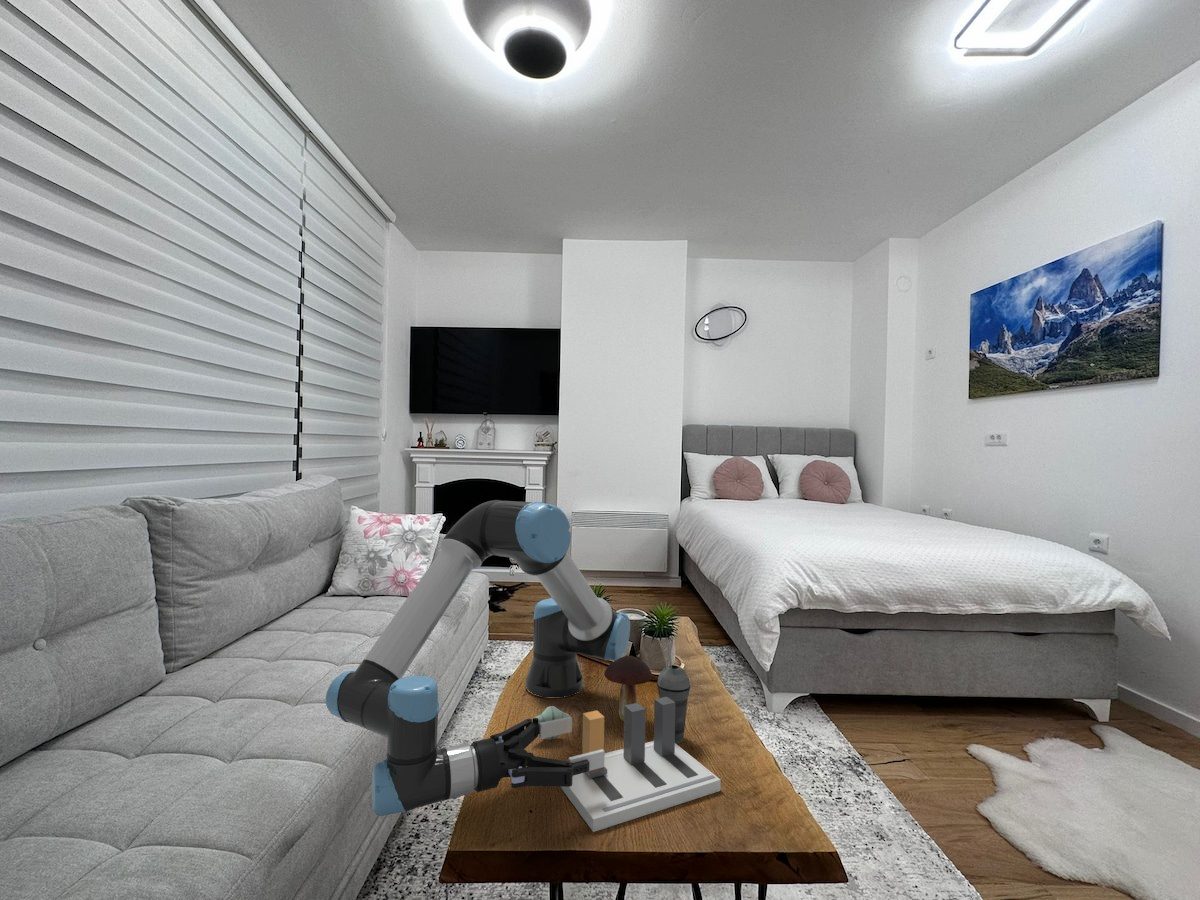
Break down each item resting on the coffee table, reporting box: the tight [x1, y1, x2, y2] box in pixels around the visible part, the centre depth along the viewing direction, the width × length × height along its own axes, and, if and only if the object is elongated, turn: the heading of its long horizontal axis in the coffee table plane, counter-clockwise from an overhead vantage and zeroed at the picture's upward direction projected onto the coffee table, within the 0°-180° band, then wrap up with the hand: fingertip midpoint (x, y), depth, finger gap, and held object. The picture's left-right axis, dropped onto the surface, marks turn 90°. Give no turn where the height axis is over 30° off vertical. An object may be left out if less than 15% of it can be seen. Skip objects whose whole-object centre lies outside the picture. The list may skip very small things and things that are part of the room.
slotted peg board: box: [560, 697, 722, 833], centre depth 101 cm, size 17×26×12 cm, turn 117°
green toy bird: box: [534, 705, 570, 740], centre depth 117 cm, size 8×4×7 cm, turn 106°
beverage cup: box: [656, 644, 691, 745], centre depth 118 cm, size 7×7×20 cm
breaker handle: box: [581, 710, 607, 779], centre depth 101 cm, size 5×4×10 cm
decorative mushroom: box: [604, 655, 653, 722], centre depth 126 cm, size 11×11×15 cm
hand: (586, 739), depth 100 cm, fingers open, 13 cm apart
